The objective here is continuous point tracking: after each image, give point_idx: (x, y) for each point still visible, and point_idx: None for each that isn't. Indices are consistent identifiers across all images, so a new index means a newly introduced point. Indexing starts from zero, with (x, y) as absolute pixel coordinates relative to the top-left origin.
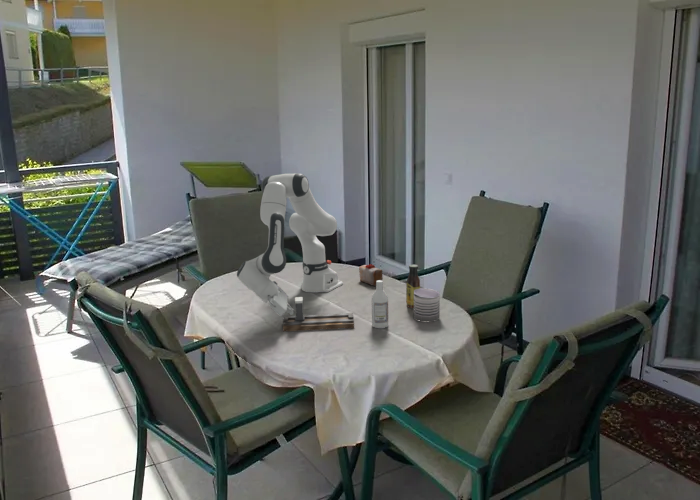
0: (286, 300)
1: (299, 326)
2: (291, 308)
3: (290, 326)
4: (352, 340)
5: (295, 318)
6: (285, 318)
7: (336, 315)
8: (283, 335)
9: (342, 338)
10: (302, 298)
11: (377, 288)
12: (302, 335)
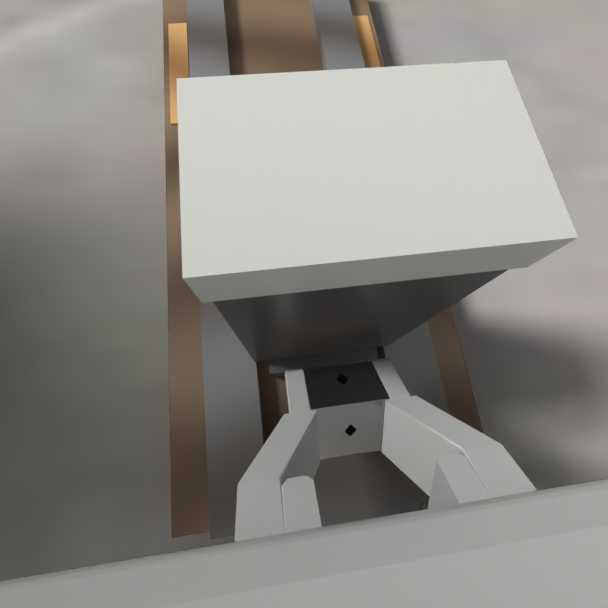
0: (299, 588)
1: (448, 310)
2: (330, 405)
3: (470, 399)
4: (538, 8)
5: (339, 359)
6: (352, 490)
7: (225, 34)
8: (560, 453)
9: (521, 50)
10: (314, 73)
11: None
12: (525, 286)
